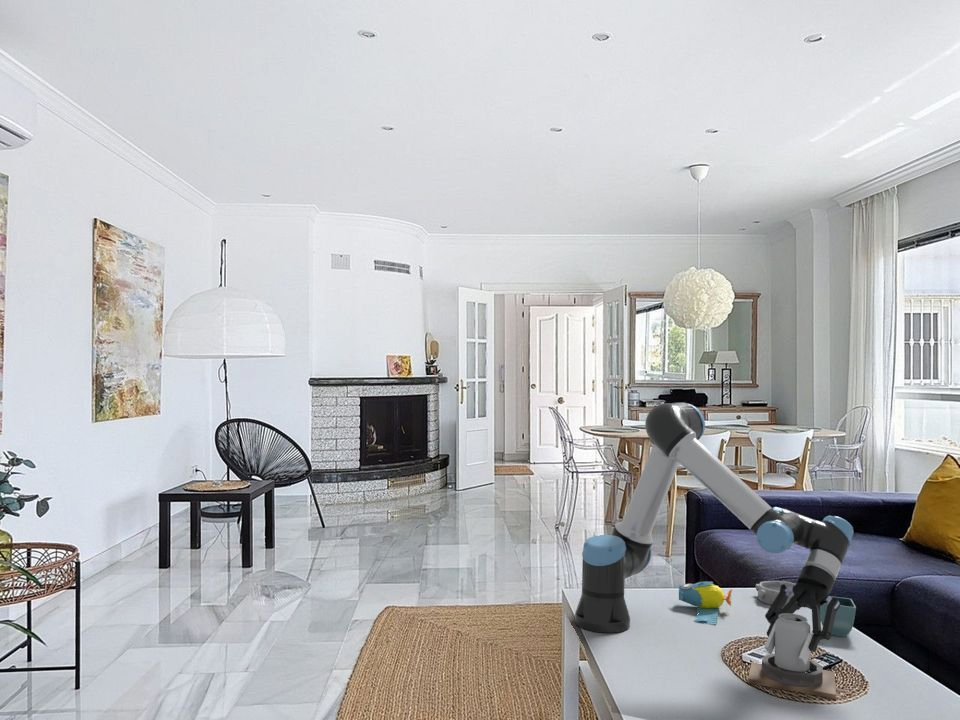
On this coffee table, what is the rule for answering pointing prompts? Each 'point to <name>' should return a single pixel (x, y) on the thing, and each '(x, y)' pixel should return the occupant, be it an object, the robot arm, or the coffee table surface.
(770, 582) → the dish
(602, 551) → the robot arm
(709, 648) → the coffee table surface
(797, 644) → the can
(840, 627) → the flower pot
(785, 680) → the can holder
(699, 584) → the blue yellow plastic figure
